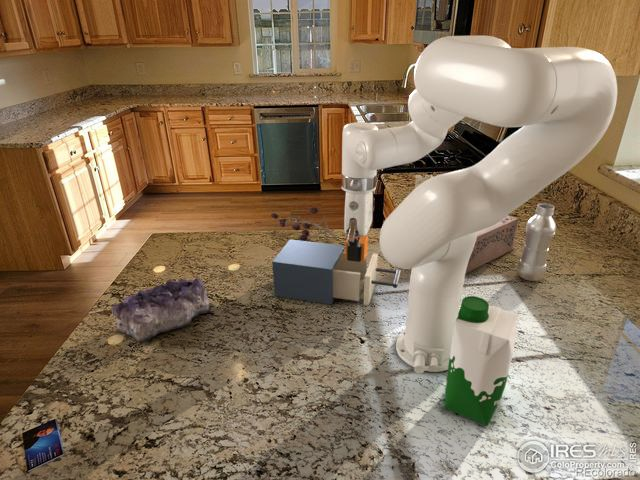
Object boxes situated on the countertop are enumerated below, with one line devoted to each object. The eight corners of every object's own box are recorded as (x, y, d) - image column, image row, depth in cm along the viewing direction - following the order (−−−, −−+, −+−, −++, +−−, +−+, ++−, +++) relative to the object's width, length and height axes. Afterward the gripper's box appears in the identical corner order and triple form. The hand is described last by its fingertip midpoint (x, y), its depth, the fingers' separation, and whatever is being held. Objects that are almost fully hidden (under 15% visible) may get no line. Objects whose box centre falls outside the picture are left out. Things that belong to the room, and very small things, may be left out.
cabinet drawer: (400, 284, 107) (402, 256, 103) (395, 309, 97) (397, 280, 94) (325, 274, 112) (325, 247, 108) (313, 297, 102) (312, 269, 99)
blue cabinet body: (343, 278, 112) (344, 245, 107) (331, 304, 101) (332, 269, 96) (291, 271, 115) (290, 239, 111) (274, 295, 104) (272, 261, 100)
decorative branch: (267, 202, 144) (339, 202, 126) (281, 219, 150) (352, 221, 132) (251, 228, 139) (325, 232, 121) (266, 244, 145) (338, 251, 127)
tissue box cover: (457, 277, 111) (462, 243, 107) (415, 257, 122) (418, 225, 117) (511, 249, 125) (518, 218, 121) (470, 233, 136) (474, 204, 131)
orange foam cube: (363, 261, 98) (364, 244, 96) (344, 259, 99) (345, 241, 97) (367, 252, 102) (368, 235, 100) (349, 250, 103) (349, 233, 101)
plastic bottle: (546, 285, 107) (565, 212, 99) (518, 282, 109) (534, 210, 100) (540, 272, 113) (557, 202, 104) (513, 270, 114) (528, 200, 106)
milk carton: (452, 378, 79) (467, 286, 70) (503, 397, 74) (526, 301, 66) (437, 410, 72) (451, 312, 63) (492, 433, 68) (516, 332, 59)
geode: (196, 293, 106) (194, 259, 101) (218, 319, 99) (218, 284, 94) (110, 323, 94) (103, 286, 89) (128, 355, 86) (122, 317, 81)
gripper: (369, 196, 84) (365, 275, 92) (381, 171, 99) (377, 242, 107) (332, 192, 86) (332, 270, 94) (350, 169, 101) (348, 238, 109)
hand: (356, 254), depth 100 cm, fingers closed on orange foam cube, 4 cm apart
